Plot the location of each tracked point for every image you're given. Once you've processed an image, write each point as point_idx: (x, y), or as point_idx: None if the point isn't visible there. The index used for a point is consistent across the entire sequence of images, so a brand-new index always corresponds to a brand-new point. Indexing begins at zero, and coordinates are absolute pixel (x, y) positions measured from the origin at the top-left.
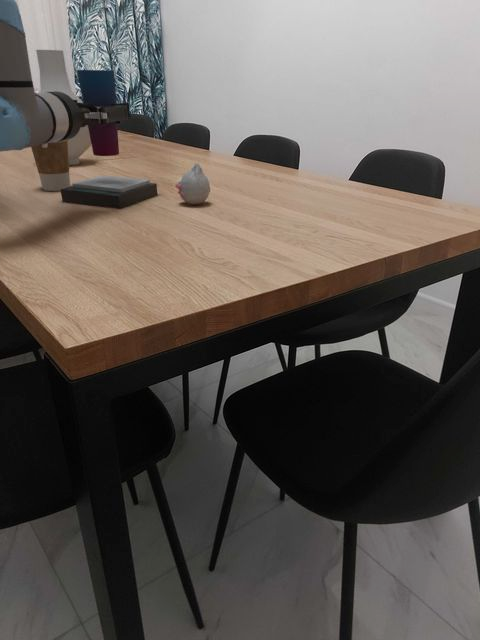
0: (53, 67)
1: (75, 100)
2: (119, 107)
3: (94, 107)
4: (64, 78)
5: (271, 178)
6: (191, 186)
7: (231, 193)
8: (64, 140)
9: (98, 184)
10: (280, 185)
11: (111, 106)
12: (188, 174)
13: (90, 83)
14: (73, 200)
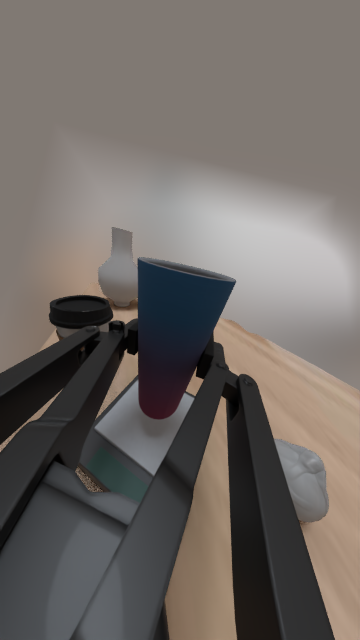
0: (122, 242)
1: (120, 325)
2: (268, 429)
3: (192, 489)
4: (129, 252)
5: (263, 354)
6: (314, 517)
7: (272, 406)
8: (106, 331)
9: (136, 440)
10: (287, 376)
11: (254, 445)
12: (304, 481)
13: (174, 312)
14: (86, 473)
